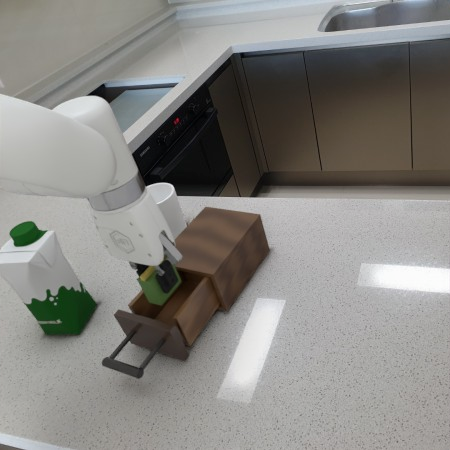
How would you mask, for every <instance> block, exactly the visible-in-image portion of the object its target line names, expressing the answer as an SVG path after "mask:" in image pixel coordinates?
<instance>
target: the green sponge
mask: <svg viewBox="0 0 450 450" xmlns="http://www.w3.org/2000/svg"><path fill="white" fill-rule="evenodd" d="M163 262H164V259H163V261H162V262H161V263H160V264H162V263H163ZM172 267H173V269H174V271H175V273H176V275H177V278H178V282H177V283H176V285H175V286H174V287H173V288H172V289H171V291H170V292H169V293H168V294H166V293H163V291H162V289H161V287H160V285H159V283H158V281H157V279H156V274H157V272H156V271H155V269H154V267H153V266H149V267H148V268H147V269H146V270H145V271H144V272H143V273H142V274H141V276H140V277H139V276H138V277H137V279H136V281H137V282H138V284H139V287H140V288H141V290H143V292H144V294H145V296H146V297H147V299H148V301H149V303H153V304H157V305H161V306H162V305H163V304H164V302H165V301H166V300H167V299H168V298H169V296H170V295H171V294H172V293H173V292H174V290H175V289H176V288H177V287H178V286H179V284H180V283H181V282H182V281H181V279H180V276H179V274H178V272H177V270H176V267H175V265H173V266H172Z"/></svg>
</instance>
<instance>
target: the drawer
mask: <svg viewBox="0 0 450 450" xmlns="http://www.w3.org/2000/svg"><path fill="white" fill-rule="evenodd" d="M177 272H178V274H179V276H180V279H181V281H182V282H181V283H180V284H179V286H178V287H177V288H176V289H175V290H174V292H173V293H172V294H171V295H170V296H169V298H168V299H167V300H166V301H165V302H164V304H163V305H162V306H161V305H157V304H153V303H149V301H148V299H147V297H146V296H145V294H144V292H143V290H142V289H141V290H140V291H139V292H138V293H137V294H136V295H135V297H134V298H133V299H132V300H131V301H130V302H129V303H128V304H127V307H128V308H129V310H130V312H129V311H125V310H121V309H117V310H116V311H115V312H114V314H113V317H114V318H115V320H116V322H117V323H118V325H119V327H120V329H121V330H122V332H123V333H124V335H125V338H124V339H123V340H122V341H121V342H120V343H119V345H118V346H117V347H116V348H115V349H114V350H113V352H112V353H110V355H109V356H106V357H104V358H103V359H102V361H101V366H102V367H104V368H107V369H110V370H112V371H116V372H119V373H120V374H124V375H127V376H130V377H132V378H135V379H138V380H139V379H142V378H143V376H144V374H145V369H146V368H147V367H148V365H149V364H150V363H151V361H153V359H154V357H155V356H156V355H157V354H158V353H159V354H162V355H164V356H168V357H170V358H175V359H177V360H181V361H184V362H186V361H187V359H188V358H189V357H190V354H189V353H190V352H189V351H188V349H187V348H186V346H189V347H191V346H192V344H193V343H194V341H195V340H196V339H197V338H198V336H199V335H200V333H201V332H202V330H203V329H204V327H206V325H207V324H208V323H209V321H210V320H211V318H212V316H213V315H214V314H215V312H216V311H217V310H218V309H217V308H218V307H219V305H220V304H221V303H220V300H219V297H218V295H217V292H216V290H215V287H214V285H213V282H212V280H211V277H207V276H203V275H198V274H194V273H189V272H184V271H180V270H177ZM129 343H130V344H131V345H134V346H137V347H140V348H143V349H146V350H149V351H150V353H149V354H148V355H147V356H146V358H144V360H143V362H142V363H140V365H139V366H138V367H137V366H135V365H132V364H130V363H126V362H124V361H120V360H117V359H116V358H117V357H118V355H119V354H120V353H121V352H122V351H123V350H124V348H125V347H126V346H127V344H129Z"/></svg>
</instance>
